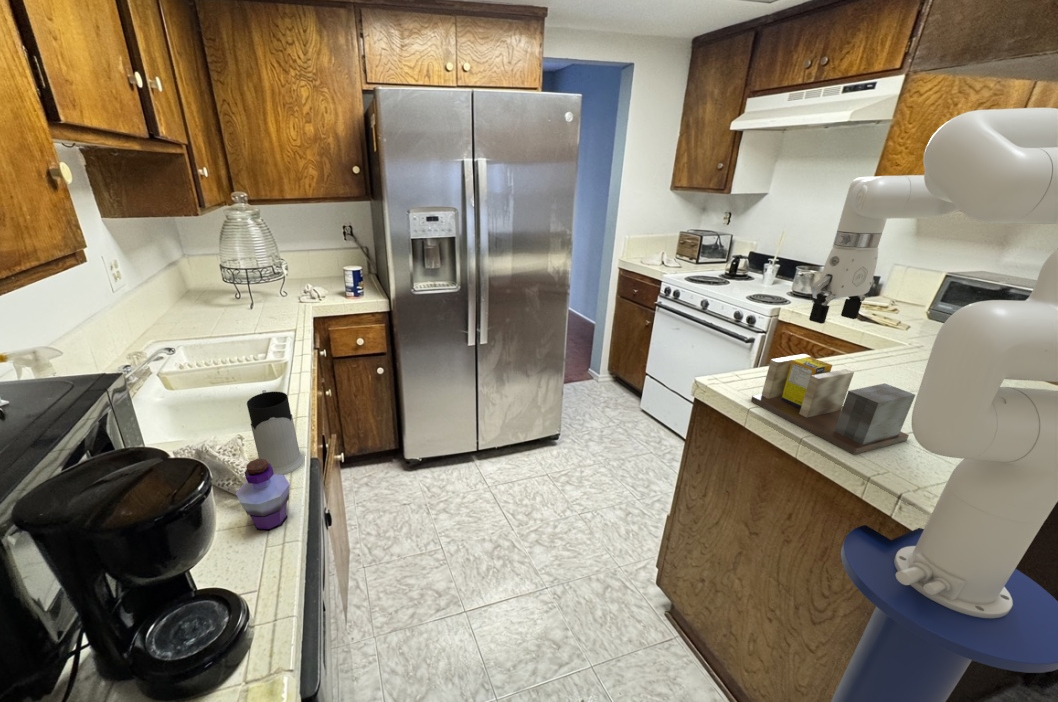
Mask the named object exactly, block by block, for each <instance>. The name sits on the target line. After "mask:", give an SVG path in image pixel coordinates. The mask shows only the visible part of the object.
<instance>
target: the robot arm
mask: <svg viewBox="0 0 1058 702" xmlns="http://www.w3.org/2000/svg"><path fill="white" fill-rule="evenodd" d="M923 168H924V173H923V174H917V175H916V174H914V175H913V174H911V175H909V174H906V175H905V174H902V175H879V176H862V177H857V178H855V179H853V180H852V181H851V183H850V185H849V187H848V191H847V194H846V198H845V201H844V205H843V208H842V211H841V215H840V219H839V222H838V225H837V230H836V232H835V237H834V239H833V244H832V247H831V250H830V251H829V254H828V256H827V258H826V261H825V263H824V266H823V268H822V272H821V275H820V277H819V280H818V281H815V283H813V284H812V285H811V286H810V290H811V296H810V298H811V299H812V300H811V303H812V308H811V311H810V314H809V318H808V320H809V321H810V322H813V323H817V324H822V325H823V324H825V323H826V319H827V316H828V313H829V310H830V305H829V304H830V302H831V301H833V299H834V298H835V297H837V298H845V299H844V303H843V307H842V309H841V313H840V316H841V317H843V318H847V319H850V320H856V319H858V316H859V313H860V310H861V307H862V304H863V302H864V301H865V300H866V296H867V295H868V294H869V293H870V290H871V288H872V286H873V285H874V283H875V279H874V277H875V272H876V268H877V263H878V257H879V245H880V241H881V239H882V236H883V232H884V229H885V226H886V222H887V220H889V219H918V220H919V219H921V220H923V219H924V220H925V219H933V218H939V217H942V216H947V215H950V214H953V213H956V212H960V213H962V214H963V215H964V216H966V217H967V218H970V219H972V220H974V221H976V222H980V223H982V224H983V223H984V224H992V225H1058V108H1054V107H1022V108H1021V107H1020V108H1017V107H1015V108H994V109H993V108H991V109H975V110H970V111H967V112H964V113H960V114H959V115H957V116H955V117H954V116H953V117H952V118H950V119H949V120H948V121H946V122H945V123H944V124H943V125H941V126H940V127H939V128H938V129H937V130H936V131H935V132H934V133H933V135H932V136H931V138H930V139H929V140H928V142H927V145H926V146H925V148H924V153H923ZM825 296H826V297H825ZM1005 380H1013V381H1030V382H1033V381H1034V382H1052V383H1058V247H1057V248H1056V249H1055V250H1054V251H1053V252H1052V253H1051V254H1050V255H1049V256H1048V257H1047V259H1046V260H1045V261H1044V262H1043V264H1042V266H1041V268H1040V270H1039V273H1038V276H1037V280H1036V282H1035V285H1034V286H1033V289H1032V291H1031V292H1030V294H1029V296H1028V297H1027V298H1026V299H1025V300H1016V299H1015V300H1010V299H990V300H981V301H977V302H973V303H969V304H967V305H964V306H962V307H960V308H959V309H957V310H956V311H955V312H953V313H952V314H951V315H950V316H949V317H948V318H947V319H946V320H945V321H944V322H943V324H942V325H941V327H940V328H939V330H938V332H937V334H936V336H935V339H934V342H933V344H932V348H931V350H930V354H929V357H928V359H927V363H926V365H925V369H924V372H923V376H922V379H921V382H920V384H919V388H918V391H917V395H916V396H915V401H914V404H913V409H912V413H911V430H912V434H913V436H914V439H915V441H916V442H917V443H918V444H919V445H920V446H921V448H923V449H924V450H926V451H928V452H930V453H931V454H934V455H938V456H941V457H945V458H946V457H947V458H954V459H962V460H960V462H959V463H958V464H957V465H956V467H954V469H953V471H952V472H951V473H950V475H949V477H948V479H947V481H946V483H945V485H944V487H943V489H942V492H941V494H940V496H939V498H938V500H937V502H936V503H935V506H934V508H933V510H932V512H931V513H930V516H929V518H928V520H927V521H926V524H925V526H924V528H923V529H924V530H923V532H922V535H921V537H920V539H919V541H918V543H917V545H916V546H909V547H904V548H902V549H900V550H899V551H898V552H897V554H896V556H895V559H894V563H895V567H896V569H897V571H898V572H896V574H895V575H896V578H897V580H898V581H899V582H900V583H901V584H904V585H911V586H912V587H913V588H914V589H916V590H917V591H918V592H920V593H921V594H923V595H924V596H926V597H927V598H929V599H931V600H933V601H935V602H936V603H938V604H940V605H943V606H945V607H947V608H949V609H952V610H954V611H957V612H960V613H963V614H967V615H970V616H975V617H981V618H1000V617H1003V616H1005V615H1007V613H1008V612H1009V611H1010V609H1011V608H1012V605H1013V601H1012V598H1011V595H1010V593H1009V592H1008V591H1007V589H1006V588H1005V587H1004V586H1005V584H1006V583H1007V581H1008V580H1009V578H1010V576H1011V575H1012V573H1013V571H1014V570H1015V569H1017V567H1018V565H1019V563H1020V562H1021V560H1022V559H1023V557H1024V555H1025V554H1026V552H1027V550H1028V549H1029V547H1030V546H1031V544H1032V542H1033V541H1034V539H1035V537H1036V536H1037V535H1038V533H1039V531H1040V529H1041V527H1042V526H1043V525H1044V523H1045V522H1046V520H1047V519H1048V517H1049V516H1050V514H1051V512H1052V511H1053V509H1054V508H1055V506H1056V504H1057V503H1058V390H1055V389H1047V388H1046V389H1045V388H1030V387H1029V388H1028V387H1017V386H1016V387H1013V386H1001V385H1002V384H1003V382H1004V381H1005Z"/></svg>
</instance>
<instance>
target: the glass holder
mask: <svg viewBox="0 0 1058 702" xmlns="http://www.w3.org/2000/svg"><path fill="white" fill-rule="evenodd" d="M261 392H262V393H259V394H256V395H254V396H252V397H251V398H249V399H248V400H247V401H246V407H247V410H248V415H249V419H250V428H251V432H252V435H253V440H254V443H255V448H256V452H257V456H258V459H264V460H266V461H267V462H268V463H270V465H271V466H272V468H273V472H274V474H277V475H286V474H289V473H291V472H293V471H296V470H297V469H298V468H299V467H300V466H302V465H303V463H304V457H303V455H302V454H301V452H300V447H299V443H298V437H297V431H296V427H295V423H294V418H293V414H292V412H291V407H290V402H289V397H288V394H287V393H285V392H283V391H277V390H276V391H267V390H266V389H262V391H261Z"/></svg>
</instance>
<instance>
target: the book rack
mask: <svg viewBox="0 0 1058 702" xmlns="http://www.w3.org/2000/svg"><path fill="white" fill-rule="evenodd" d="M805 357H811V358H812V356H811V355H808V354H806V353H801V354H795V355H789V356H783V357H778V358H771V359H770V362H769V366H768V369H767V373H766V377H765V381H764V385H763V388H762V392H761V394H757V395H752V396H751V399H750V402H752V403H753V404H755V405H757V406H760V407H761V408H762V409H765V410H767V411H768V412H771V413H772V414H775V415H777V416H778V417H780V418H782V419H784V420H787V421H788V422H790V423H792V424H794V425H796V426H798V427H799V428H801V429H803V430H806V431H807V432H809V433H811V434H813V435H815V436H817V437H819V438H821V439H823V440H825V441H826V442H829V443H831V444H832V445H834V446H837V447H838V448H839V449H842V450H844V451H845V452H848V453H850V454H852V455H858V454H861V453H865V452H866V453H867V452H869V451H872V450H876V449H877V450H878V449H881V448H884V447H888V446H893V445H896V444H901V443H903V442H907V441H908V439H909V434H908V433H905V432H903V431H902V429H903V426H904V424H905V421H906V418H907V417H908V414H909V412H910V409H911V407H912V405H913V402H914V399H915V398H916V394H915V393H912V392H909V391H906V390H904V389H901V388H898V387H896V386H893V385H890V384H888V383H880V384H875V385H870V386H866V387H861V388H856V389H850V390H849V388H850V385H851V382H852V380H853V377H854V373H855V372H854V371H852V370H849V369H847V368H844V369H839V370H833V371H830V372H828V373H822V374H817V375H812V376H811V377H810V380H809V383H808V387H807V390H806V393H805V396H804V400H803V403H802V406H801V408H799V407H797V406H795V405H792V404H790V403H788V402H786V401H783V400H781V399H782V395H783V391H784V388H785V384H786V380H787V377H788V373H789V370H790V366H791V362H792V360H795V359H800V358H805Z"/></svg>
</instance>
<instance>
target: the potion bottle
mask: <svg viewBox="0 0 1058 702" xmlns="http://www.w3.org/2000/svg"><path fill="white" fill-rule="evenodd" d="M245 468H246V470H245V471H244V472H243V473H244V478H245V479H246V481H245V482H244V483H243V484H242V485H241V486H240V487H239V488H238V490H237V491H236V492H235V495H236V497H237V499H238V501H239V503H240V505H241V506H242V508H243V510H244V511H245V513H246V515H248V516H249V517H250V518H251V521H252V522H253V525H254V528H255V529H256V531H262V532H263V531H264V532H270V531H273V530H275V529H277V528H280V527H281V526H283V524H284V523H285V522H286V520H287V519H288V515H287V512H288V511H287V509H288V502H289V500H290V489H291V487H290V486H291V483H290V482H289V481H288V479H287V477H286V476H285V474H283V475H277V474H274V472H273V468H272V466H271V465H270V463H268V462H267V461H266V460H264V459H259V458H256V459H253V460H251V461H249V462H248V463H247V464H246V466H245Z"/></svg>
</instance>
